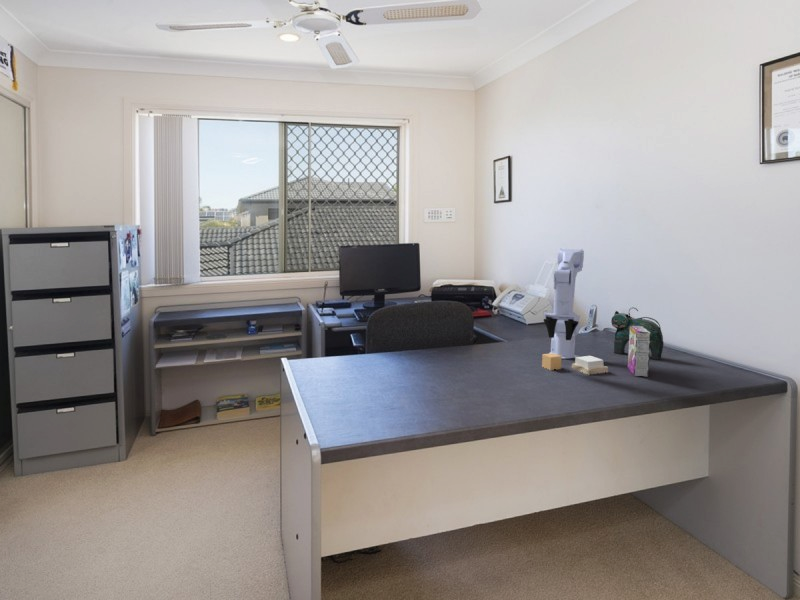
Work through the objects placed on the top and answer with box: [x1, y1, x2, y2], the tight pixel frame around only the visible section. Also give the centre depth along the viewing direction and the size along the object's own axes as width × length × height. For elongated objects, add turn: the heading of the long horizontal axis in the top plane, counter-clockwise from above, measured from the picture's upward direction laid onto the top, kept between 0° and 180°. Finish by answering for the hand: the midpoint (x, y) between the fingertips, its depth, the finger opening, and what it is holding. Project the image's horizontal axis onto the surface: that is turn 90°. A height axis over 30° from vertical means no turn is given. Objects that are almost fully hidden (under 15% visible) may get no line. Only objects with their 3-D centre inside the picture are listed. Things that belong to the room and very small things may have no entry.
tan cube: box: [541, 352, 562, 371], centre depth 197 cm, size 5×5×5 cm
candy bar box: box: [627, 326, 651, 378], centre depth 190 cm, size 11×5×16 cm, turn 168°
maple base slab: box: [571, 362, 609, 376], centre depth 194 cm, size 9×9×2 cm
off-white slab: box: [574, 355, 604, 369], centre depth 194 cm, size 7×7×2 cm
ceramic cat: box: [611, 307, 665, 360], centre depth 214 cm, size 20×6×20 cm, turn 49°
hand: (559, 338), depth 193 cm, fingers open, 7 cm apart
